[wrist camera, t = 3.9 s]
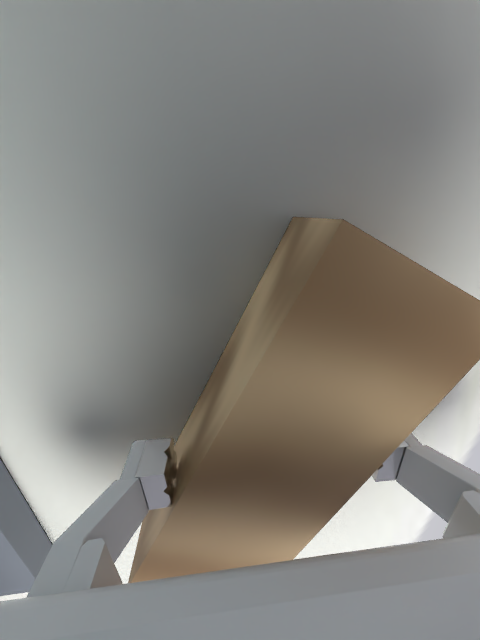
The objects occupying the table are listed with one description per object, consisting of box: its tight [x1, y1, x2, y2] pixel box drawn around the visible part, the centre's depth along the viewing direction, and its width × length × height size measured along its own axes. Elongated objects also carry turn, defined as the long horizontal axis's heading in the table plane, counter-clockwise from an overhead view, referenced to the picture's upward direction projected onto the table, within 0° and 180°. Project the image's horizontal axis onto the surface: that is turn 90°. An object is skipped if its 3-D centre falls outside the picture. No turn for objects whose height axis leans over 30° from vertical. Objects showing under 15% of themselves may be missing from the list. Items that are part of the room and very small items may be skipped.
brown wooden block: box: [128, 217, 480, 583], centre depth 11 cm, size 16×6×4 cm, turn 154°
